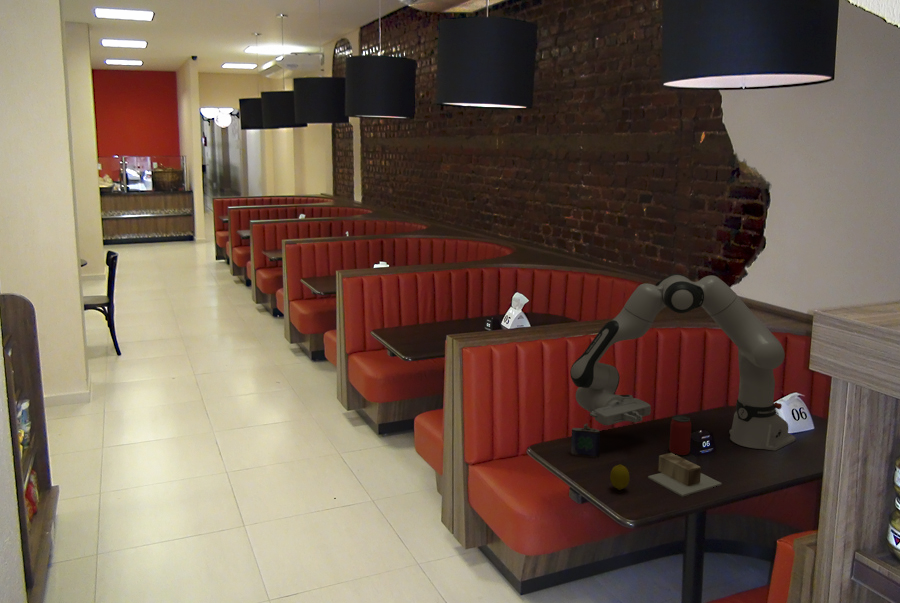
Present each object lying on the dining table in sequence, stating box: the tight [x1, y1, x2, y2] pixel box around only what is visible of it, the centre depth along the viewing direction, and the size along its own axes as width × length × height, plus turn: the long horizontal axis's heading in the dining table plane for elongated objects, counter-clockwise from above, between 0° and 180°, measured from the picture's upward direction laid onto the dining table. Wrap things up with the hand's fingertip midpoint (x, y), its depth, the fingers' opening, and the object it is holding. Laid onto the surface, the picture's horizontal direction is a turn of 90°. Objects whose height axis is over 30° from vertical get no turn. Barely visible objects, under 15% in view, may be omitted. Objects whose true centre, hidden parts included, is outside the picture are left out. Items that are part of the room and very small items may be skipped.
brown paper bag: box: [658, 452, 702, 486], centre depth 216 cm, size 5×5×12 cm
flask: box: [570, 423, 601, 458], centre depth 234 cm, size 9×3×11 cm, turn 76°
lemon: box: [609, 464, 630, 491], centre depth 209 cm, size 6×6×8 cm
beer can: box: [668, 414, 692, 456], centre depth 235 cm, size 7×7×12 cm
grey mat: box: [647, 472, 723, 498], centre depth 215 cm, size 16×14×1 cm
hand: (638, 419), depth 232 cm, fingers closed
